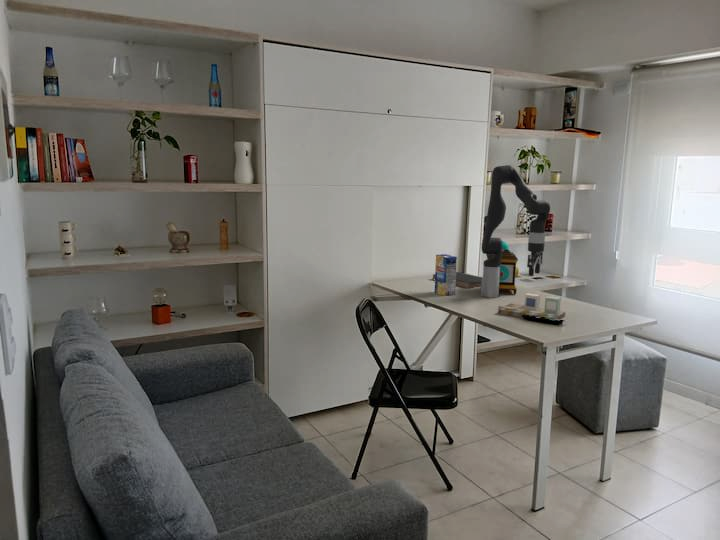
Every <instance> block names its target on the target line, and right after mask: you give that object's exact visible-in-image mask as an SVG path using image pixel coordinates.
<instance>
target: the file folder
mask: <svg viewBox="0 0 720 540" xmlns="http://www.w3.org/2000/svg"><path fill="white" fill-rule="evenodd" d="M433 279H435V273H434V274H432V280H433ZM481 279H483V276H482V277H481V276H477V275H473V274H469V273H463V272H460V271H459V272H458V271H456V286H458V285H459V286H458V287H463V288H465V287H466V288H465V289H473V288H474V287H476V288H481ZM474 289H475V288H474Z"/></svg>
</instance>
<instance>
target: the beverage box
mask: <svg viewBox="0 0 720 540" xmlns="http://www.w3.org/2000/svg"><path fill="white" fill-rule="evenodd" d="M457 262H458V257H457V256H454V255H450V254H447V253H445V254H443V253H442V254H436V255H435V269H434V270H435V271H434V272H435V273H434V274H435V280H434V293H436V294H439V295H442V296H443V297H451V296H456V286H457V285H456V272H457V267H458V266H457V264H458V263H457Z"/></svg>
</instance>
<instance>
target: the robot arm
mask: <svg viewBox="0 0 720 540" xmlns="http://www.w3.org/2000/svg"><path fill="white" fill-rule="evenodd" d="M491 173H492V174H491V182H490V184H491V185H490V186H491V187H490V194H489V195H490V196H489V203H488V207H487V212H486V213H487V216H486V223H485V229H484V232H483V237H482V241H481V252H482V254H485V255H486V254H494V256H493V257H492V258H490V259H487V258H486V259H485V260H484V261H483V266H482V267H483V270H482V271H483V272H482V278H483V279H481V287H480V297H481V296H482V297H484V298H490V299H491V298H494V297H495V298H498V297H499V295H500V292H499V291H500V290H499V280H500V264H501V254H502V241H503V239H502V238H500V237H492V235H493V234H494V232H495V230H497V228H498V227H499V226H500V225H501V224H502V222H503V221H504V219H505V216H506V212H507V211H506V210H507V204H506V203H505V200H504V198H503V196H502V189H501V188H502V185H505V184H511V185H513V186H515V187H514V188H515V192H514V193H515V195H516V197H517V198H518V199H519V200H520V201H521V203H523V205H524V207H525V209H526V211H527V212H528V213H529V214H530V215H532V216H536V218H535V219H532V220H531V221H530V224H529V234H528V242H527V243H528V244H527V251H528V252H530V254H527V263H526V264H527V265H526V266H527V268H528V276H530V277H533V276H534V275H535V274H540V272H541V271H540V270H541V265H543V254H544V252H545V243H546V242H545V241H546V240H545V239H546V236H545V235H546V234H545V232H546V223H547V220H548V218H549V215H550V212H551V206H550V202H549V201H548V200H545V199H537V198H538V196H537V194H536V193H535V192H534V191H533V189H531V188H530V187H529V186H528V185H527V184H526V183H525V181H524V179H522V177H521V176H520V174H519V173H518V171H517V170H516V169H515V166H513V165H509V164H507V165H499V166H496V167H495V166H494V168H493V170H492V172H491Z"/></svg>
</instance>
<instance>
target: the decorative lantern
mask: <svg viewBox="0 0 720 540" xmlns="http://www.w3.org/2000/svg"><path fill="white" fill-rule="evenodd" d="M485 255H486V260H487V259H490V258H492V257H493V256H494V254H485ZM518 261H519V259H518V257H517V255H516V254H515V253H514V252H511V251H510V249H509V244H508V243H507V242H506V241H505V240H502V254H501V264H500V280H499V291H500V290H503V291H513V295H514V294H517V286H516V283H515V282H516V278H517V277H518V276H519V267H518V266H517V263H518Z"/></svg>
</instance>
